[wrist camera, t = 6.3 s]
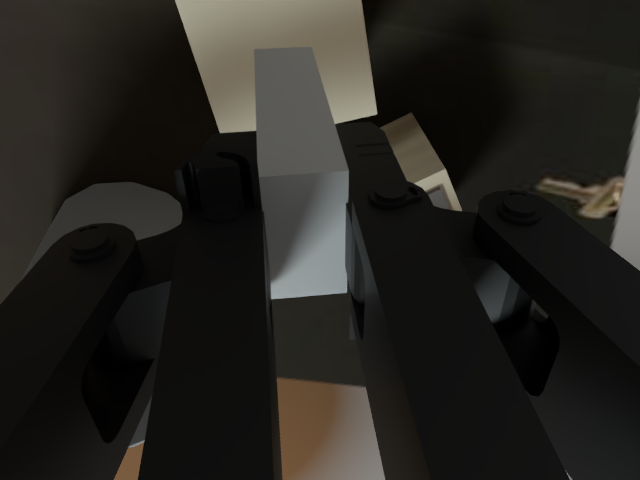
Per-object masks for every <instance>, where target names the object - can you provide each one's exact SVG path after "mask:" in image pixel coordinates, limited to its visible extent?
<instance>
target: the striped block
mask: <svg viewBox="0 0 640 480" xmlns="http://www.w3.org/2000/svg"><path fill="white" fill-rule="evenodd" d="M380 129H382V130H383V131H384V132H385V134H386V136H387V139H388V141H389V145H391V147H392V149H393V152H394V154H395V156H396V158H397V160H398V162H399V165H400V167H401V169H402V171H403V173H404V175H405V178H406V180H407V181H409V182H412V183H414V184H416V185H418V186H420V187H421V188H423V190H424V191H425V192H426V193H427V194H428V195H429V197H430V199H431V201H432V203H433V205H434V206H436V207H439V208H444V209H449V210H456V211H462V209H461V207H460V204H459V202H458V199H457V196H456V194H455V191H454V189H453V186H452V184H451V181H450V179H449V176H448V174H447V171H446V169H445V167H444V165H443V164H442V162H441V160H440V159H439V157H438V155H437V154H436V152H435V151H434V149H433V147H432V146H431V144H430V142H429V141H428V139H427V137H426V136H425V134H424V132H423V131H422V129H421V127H420V126H419V124H418V122H417V121H416V119H415V117H414V116H413V114H412V112H411V113H409V114H407V115H405V116H403V117H401V118H399V119H397V120H395V121H393V122H391V123H389V124H387V125H385V126H383V127H381V128H380ZM347 278H348V277H347Z"/></svg>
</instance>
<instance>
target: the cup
mask: <svg viewBox="0 0 640 480" xmlns="http://www.w3.org/2000/svg"><path fill="white" fill-rule="evenodd" d="M182 215H183V214H182V209H181V204H180V202H178V201H177V200H176V199H175V198H173V197H172V196H171V195H170V194H168V193H166V192H163V191H160V190H157V189H153V188H150V187H147V186H144V185H141V184H138V183H134V182H119V183H102V184H94V185H92V186H90V187H88V188H86V189H84V190H82V191H80V192H79V193H77V194H75V195H73V196H71V197H69V198H67V199H66V200H65V201H64V203H63V205H62V206H61V208H60V210H59V211H58V213H57V215H56V217H55V218H54V220H53V222H52V223H51V225H50V227H49V229H48V231H47V233H46V234H45V236H44V238H43V240H42V242H41V244H40V246H39V248H38V249H37V251H36V253H35V255H34V257H33V259H32V261H31V262H30V264H29V266H28V268H27V270H26V272H25V274H24V275H23V277H22V279H23V278H24V277H25V276H26V274H27V273H28V272H29V271H30V270H31V269H32V268H33V266H34V265H35V264H36V263H37V262H38V261H39V259H40V258H41V257H42V256H43V255H44V254H45V252H46V251H47V250H48V249H49V248H50V247H51V246H52V244H54V243H55V242H56V241H57V240H58V239H60V238H61V237H62V236H63V235H65V234H67V233H69V232H71V231H73V230H75V229H77V228H79V227H83V226H88V225H90V224H96V223H115V224H120V225H124V226H126V227H127V228H129V229H130V230H132V231H133V232H134V235H135V237H136V240H140V239H144V238H148V237H151V236H155V235H158V234H161V233H164V232H166V231H169V230H171V229H173V228H175V227H176V226H178V225H180V224H181V221H182ZM22 279H21V280H22ZM151 399H152V396H151V398H150V401H149V403H148V405H147V407H146V409H145V412H144V414H143V416H142V418H141V420H140V423H139V425H138V427H137V429H136V431H135V434H134V436H133V438H132V440H131V442H130V445H129V447H134V446H136V445H139V444H141V443H144V441H145V435H146V429H147V423H148V417H149V411H150V405H151ZM129 447H128V448H129Z"/></svg>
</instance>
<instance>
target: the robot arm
mask: <svg viewBox="0 0 640 480" xmlns="http://www.w3.org/2000/svg"><path fill="white" fill-rule="evenodd" d="M254 64H255V99H256V131H245V132H229V133H214V134H213V135H212V136H211V137H210V138H209V139H208V140H207V141H206V142H205V143H204V144H203V145H202V151H200V152H197V153H195V154H192V155H189V156H187V157H186V158H184V159H183V160H181V161H180V162H179V163H178V164H177V166H176V167H175V169H174V176H175V180H176V185H177V190H178V195H179V199H180V204H181V209H182V214H183V215H182V221H181V224H180V225H178V226H176V227H175V228H173V229H171V230H169V231H166V232H164V233H161V234H158V235H155V236H151V237H148V238H144V239H140V240H136V237H135V235H134V232H133V231H132V230H130V229H129V228H127V227H126V226H124V225H120V224H115V223H96V224H90V225H88V226H83V227H79V228H77V229H75V230H73V231H71V232H69V233H67V234H65V235H63V236H62V237H61V238H60V239H58V240H57V241H56V242H55V243H54V244H52V246H51V247H50V248H49V249H48V250H47V251H46V252H45V254H44V255H43V256H42V257H41V258H40V259H39V261H38V262H37V263H36V264H35V265H34V266H33V268H32V269H31V270H30V271H29V272H28V273H27V274H26V276H25V277H24V278H23V279H22V280H21V281H20V283H19V284H18V285H17V286H16V287H15V288H14V290H13V291H12V292H11V293H10V294H9V295H8V297H7V298H6V299H5V300H4V301H3V302H2V303H1V305H0V480H113V479H114V478H115V475H116V473H117V471H118V468H119V467H120V464H121V462H122V460H123V458H124V455H125V453H126V451H127V449H128V447H129V445H130V442H131V440H132V438H133V436H134V434H135V431H136V429H137V427H138V425H139V423H140V420H141V418H142V416H143V414H144V412H145V409H146V407H147V405H148V403H149V401H150V398H151V396H152V399H151V405H150V411H149V417H148V423H147V429H146V435H145V441H144V447H143V453H142V459H141V464H140V471H139V476H138V480H282V465H281V447H280V430H279V411H278V395H277V394H278V393H277V376H276V358H275V340H274V322H273V311H272V301H271V299H280V298H291V297H303V296H314V295H326V294H337V293H347V277H348V282H349V286H350V338H349V340H353V339H355V337H356V342H357V347H358V352H359V356H360V361H361V366H362V371H363V375H364V380H365V385H366V390H367V394H368V399H369V403H370V408H371V413H372V418H373V423H374V428H375V432H376V437H377V442H378V447H379V451H380V456H381V460H382V465H383V470H384V475H385V480H570V479H569V477H568V475H567V473H568V474H569V475H570V477H571V478H572V479H573V480H640V271H639V270H638V269H637V268H635V267H634V266H633V265H631V264H630V263H629V262H627V261H626V260H625V259H624V258H622V257H621V256H620V255H618V254H617V253H616V252H614V251H613V250H612V249H611V248H609V247H608V246H607V245H605V244H604V243H603V242H602V241H600V240H599V239H598V238H596V237H595V236H594V235H592V234H591V233H590V232H589V231H587V230H586V229H585V228H583V227H582V226H581V225H579V224H578V223H577V222H576V221H574V220H573V219H572V218H570V217H569V216H568V215H567V214H565V213H564V212H563V211H561V210H560V209H559V208H557V207H556V206H555V205H554V204H552V203H550V202H549V201H547V200H545V199H543V198H542V197H540V196H537V195H533V194H530V193H528V192H524V191H516V190H507V191H497V192H493V193H491V194H488V195H486V196H484V197H483V198H482V199H481V200H480V201H479V202H478V206H477V211H476V213H473V212H464V211H456V210H449V209H444V208H439V207H436V206H434V205H433V203H432V201H431V199H430V197H429V195H428V194H427V193H426V192H425V191H424V190H423V188H421V187H420V186H418V185H416V184H414V183H412V182H409V181H407V180H406V178H405V175H404V173H403V171H402V169H401V167H400V165H399V162H398V160H397V158H396V156H395V154H394V152H393V149H392V147H391V145H389V141H388V139H387V136H386V134H385V132H384V131H383V130H382V129H380V128H379V127H377V126H376V125H374V124H373V123H372V122H358V123H343V124H335V123H334V120H333V117H332V113H331V110H330V107H329V103H328V100H327V97H326V93H325V90H324V87H323V83H322V80H321V77H320V73H319V70H318V67H317V63H316V60H315V57H314V53H313V50H312V47H311V46H309V47H290V48H272V49H254ZM536 303H537V304H538V305H539V306H540V307H541V308H542V309H543V310H544V311H545V312H546V313H547V314H548V315H549V316H548V318H547V319H546V318H545V317H544V316H542V315H541V314H540V313H539V312H538V311H537V310H536V309H535V305H536ZM565 470H566V471H565ZM566 472H567V473H566Z"/></svg>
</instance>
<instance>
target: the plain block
mask: <svg viewBox="0 0 640 480" xmlns="http://www.w3.org/2000/svg"><path fill="white" fill-rule="evenodd" d="M175 1H176V4H177V7H178V10H179V13H180V16H181V19H182V22H183V25H184V28H185V31H186V34H187V37H188V40H189V43H190V46H191V49H192V52H193V55H194V58H195V61H196V64H197V66H198V69H199V72H200V75H201V78H202V81H203V84H204V87H205V90H206V93H207V96H208V99H209V102H210V105H211V108H212V111H213V114H214V117H215V120H216V123H217V126H218V129H219V132H220V133H229V132H245V131H256V99H255V64H254V49H272V48H290V47H309V46H311V47H312V50H313V53H314V57H315V60H316V63H317V67H318V70H319V73H320V77H321V80H322V83H323V87H324V90H325V93H326V97H327V100H328V103H329V107H330V110H331V113H332V117H333V120H334V123H335V124H337V123H342V122H346V121H350V120H355V119H359V118H364V117H368V116H372V115H377V108H376V101H375V94H374V87H373V80H372V72H371V65H370V58H369V51H368V44H367V37H366V30H365V22H364V15H363V8H362V1H361V0H175Z"/></svg>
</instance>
